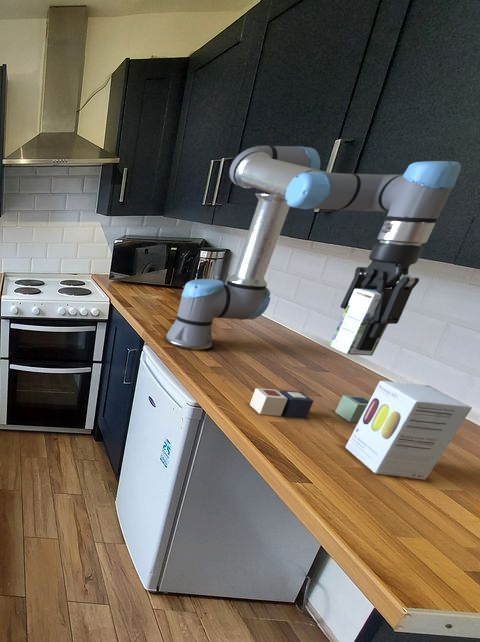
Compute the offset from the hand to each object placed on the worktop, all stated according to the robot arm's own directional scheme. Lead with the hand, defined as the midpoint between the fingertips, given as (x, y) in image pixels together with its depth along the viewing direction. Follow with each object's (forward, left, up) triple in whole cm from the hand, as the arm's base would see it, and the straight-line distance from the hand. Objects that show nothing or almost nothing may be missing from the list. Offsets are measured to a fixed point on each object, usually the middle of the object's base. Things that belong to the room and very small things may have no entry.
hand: (353, 344), depth 94 cm
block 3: (0, +7, -19) cm, 21 cm away
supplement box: (+20, -1, -19) cm, 28 cm away
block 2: (0, -8, -19) cm, 21 cm away
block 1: (0, -14, -19) cm, 23 cm away
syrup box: (0, 0, -2) cm, 2 cm away
